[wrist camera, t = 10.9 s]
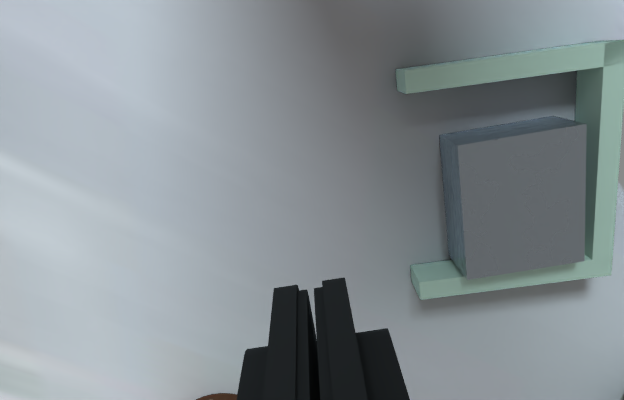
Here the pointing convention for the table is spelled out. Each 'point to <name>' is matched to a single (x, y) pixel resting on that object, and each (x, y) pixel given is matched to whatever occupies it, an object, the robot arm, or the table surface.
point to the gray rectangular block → (515, 196)
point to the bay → (599, 152)
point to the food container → (219, 397)
